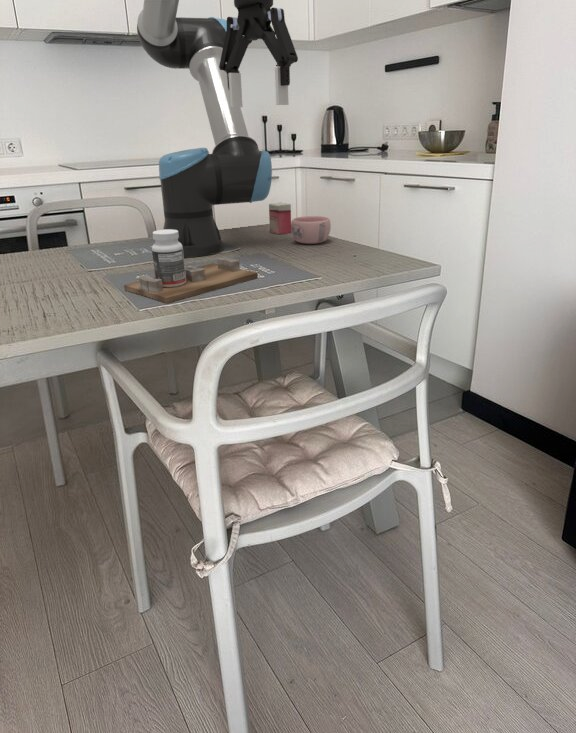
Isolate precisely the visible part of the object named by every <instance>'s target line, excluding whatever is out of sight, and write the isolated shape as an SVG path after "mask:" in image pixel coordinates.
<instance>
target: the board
mask: <svg viewBox="0 0 576 733" xmlns="http://www.w3.org/2000/svg"><path fill="white" fill-rule="evenodd" d="M216 261H217V263H215V262H214V263H213V262H212V263H210V264H209V263H208V264H205V265H201V266H196V267H194V266H192V265H185V272H186V283H185V284H183V285H181V286H177V287H163V285H162V279H156V278H155V277H150V276H149V275H145V276H139V277H138V281H134V282H131V283H127V284H124V285H123V289H124V291H126V290H127V292H129V291H130V292H129V293H132V292H133V293H132V294H136V293H137V295H140V296H142V295H143V297H145V296H147V298H148V297H150V298H149V299H152V298H153V299H152V300H155V299H156V300H155V301H158V300H159V301H158V302H162V303H164V302H165V303H166V304H170V303H174V302H177V301H180V299H181V300H184V299H187V297H188V298H191V297H194V296H198V294H199V295H201V293H202V294H205V293H204V292H206V293H208V292H212V290H213V291H216V290H219V289H223V288H227V287H230V286H233V284H234V285H238V284H240V283H241V284H242V283H244V282H247V281H251V280H255V279H257V278H258V272H255V271H252V270H251V271H250V270H246V269H241V267H240V265H241V264H240V263H241V262H240V260H238V259H235V258H231V257H220V258H217V260H216ZM226 286H227V287H226ZM183 298H184V299H183ZM165 303H164V304H165Z"/></svg>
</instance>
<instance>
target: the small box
mask: <svg viewBox="0 0 576 733" xmlns="http://www.w3.org/2000/svg"><path fill="white" fill-rule="evenodd" d="M268 213H269V214H268V215H269V217H268V218H269V232H270V233H271V234H276V235H287V234H292V231H291V222H292V205H291V203H287V202H273V203H268Z"/></svg>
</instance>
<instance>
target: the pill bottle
mask: <svg viewBox="0 0 576 733" xmlns="http://www.w3.org/2000/svg"><path fill="white" fill-rule="evenodd" d="M178 238H179V234H178V231H177V230H172V229H166V230H163V229H157V230H154V231H152V239H153V240H154V243H153V245H152V246H151V254H152V260H153V269H154V276H155V277H154V278H156V279H162V285H163V287H177V286H181V285H183V284H185V283H186V272H185V266H186V264H185V257H184V253H183V246H182V244H181V243H180V242H178Z"/></svg>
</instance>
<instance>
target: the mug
mask: <svg viewBox="0 0 576 733" xmlns="http://www.w3.org/2000/svg"><path fill="white" fill-rule="evenodd" d="M331 226H332V225H331V220H330V218H329V217H328V216H321V215H320V216H319V215H310V216H309V215H307V216H306V215H305V216H299V217H294V218H292V219H291V234H292V236H293V239H294V240H295V241H296V242H297V243H300V244H304V245H315V244H320V243H321V244H322V243H324V242H326V241H327V240H328V238H329V235H330V232H331Z"/></svg>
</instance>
